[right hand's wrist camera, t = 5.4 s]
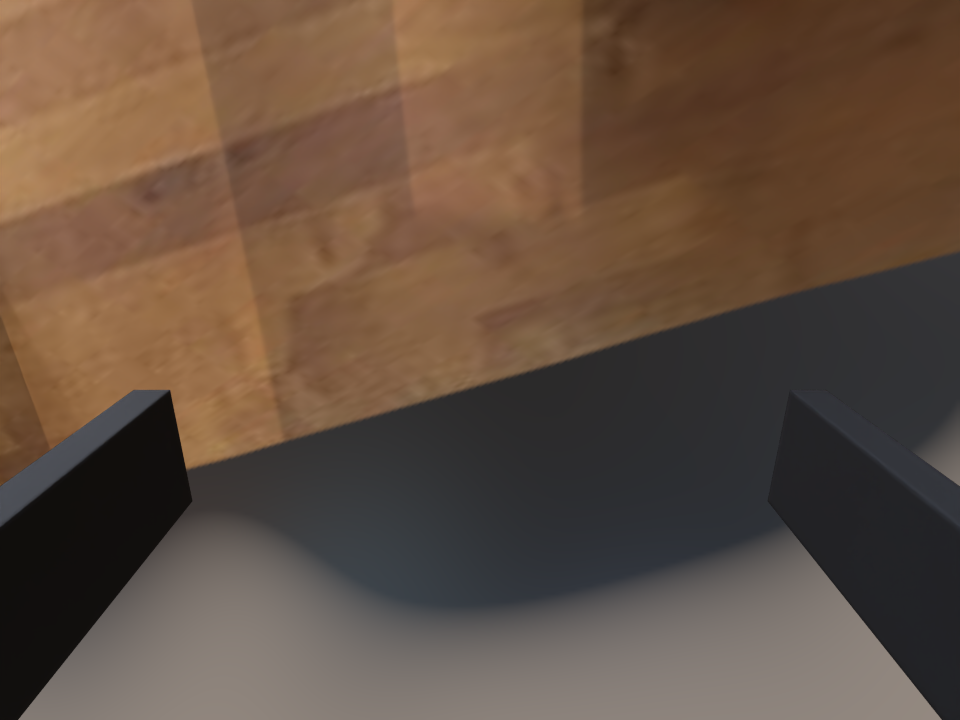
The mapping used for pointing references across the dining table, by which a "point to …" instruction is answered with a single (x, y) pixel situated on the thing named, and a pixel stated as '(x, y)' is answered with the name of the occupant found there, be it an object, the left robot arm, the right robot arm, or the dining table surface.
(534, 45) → the dining table surface
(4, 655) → the right robot arm
